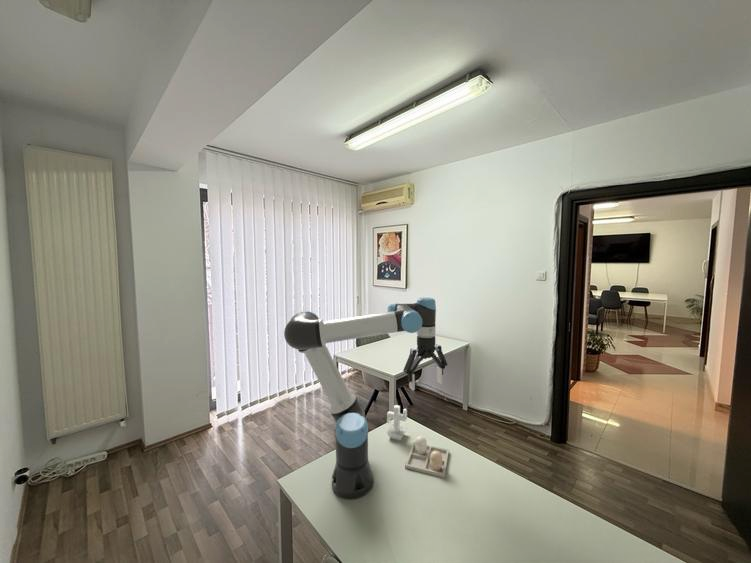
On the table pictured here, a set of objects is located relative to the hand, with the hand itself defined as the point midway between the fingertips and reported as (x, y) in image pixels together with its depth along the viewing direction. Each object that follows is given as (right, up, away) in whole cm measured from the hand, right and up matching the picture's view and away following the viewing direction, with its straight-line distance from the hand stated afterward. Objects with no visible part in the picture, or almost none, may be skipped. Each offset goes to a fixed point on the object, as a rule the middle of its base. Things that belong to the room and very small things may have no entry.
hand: (425, 385), depth 121 cm
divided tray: (0, -29, -4) cm, 29 cm away
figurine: (-11, -28, +12) cm, 32 cm away
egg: (+2, -29, -9) cm, 30 cm away
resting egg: (-2, -28, 0) cm, 28 cm away
